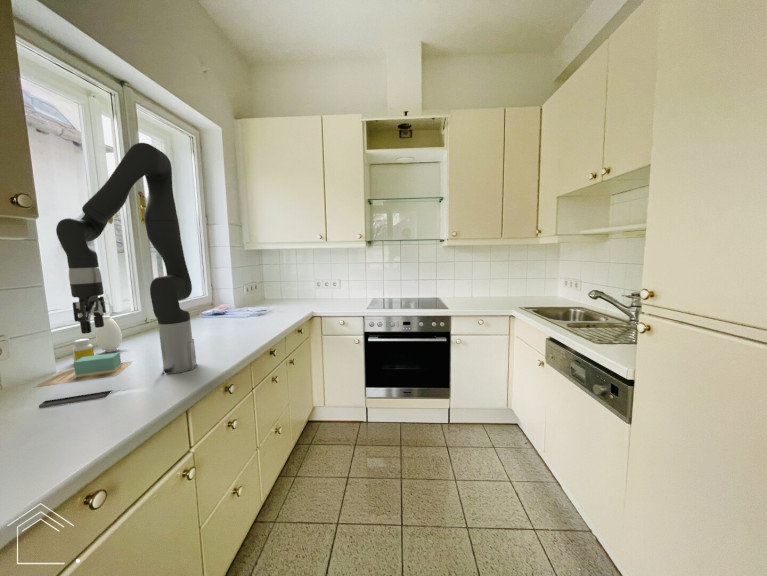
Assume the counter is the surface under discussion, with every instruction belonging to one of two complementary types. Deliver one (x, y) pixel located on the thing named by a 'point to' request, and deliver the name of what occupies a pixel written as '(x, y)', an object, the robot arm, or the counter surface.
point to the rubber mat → (74, 399)
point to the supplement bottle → (82, 349)
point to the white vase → (109, 335)
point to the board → (70, 376)
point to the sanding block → (97, 364)
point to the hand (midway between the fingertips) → (93, 329)
